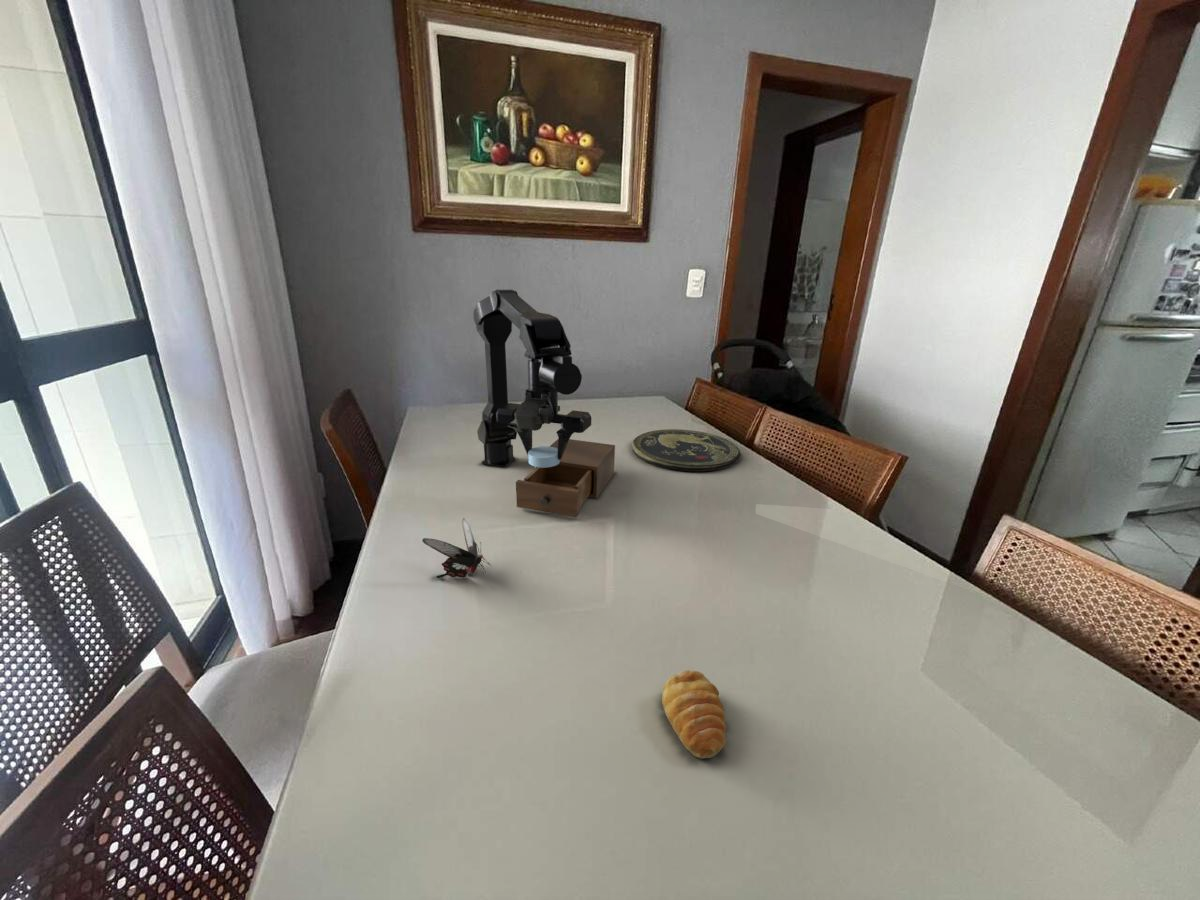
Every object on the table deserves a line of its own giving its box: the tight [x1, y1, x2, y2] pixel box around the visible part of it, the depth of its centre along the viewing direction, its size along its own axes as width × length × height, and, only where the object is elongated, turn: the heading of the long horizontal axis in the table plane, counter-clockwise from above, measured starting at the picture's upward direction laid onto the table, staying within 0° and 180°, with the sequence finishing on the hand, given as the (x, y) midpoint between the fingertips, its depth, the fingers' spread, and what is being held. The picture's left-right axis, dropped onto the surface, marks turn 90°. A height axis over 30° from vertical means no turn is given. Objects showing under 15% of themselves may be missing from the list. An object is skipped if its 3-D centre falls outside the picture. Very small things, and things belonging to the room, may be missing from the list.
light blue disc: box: [527, 445, 560, 468], centre depth 101 cm, size 7×7×2 cm
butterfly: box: [421, 517, 491, 579], centre depth 79 cm, size 11×8×10 cm
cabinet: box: [535, 438, 616, 499], centre depth 115 cm, size 15×15×8 cm
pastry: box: [661, 670, 727, 759], centre depth 55 cm, size 9×7×4 cm
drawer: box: [515, 465, 594, 518], centre depth 104 cm, size 15×13×6 cm
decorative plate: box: [631, 428, 741, 472], centre depth 136 cm, size 30×2×30 cm
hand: (544, 456), depth 101 cm, fingers closed on light blue disc, 6 cm apart
